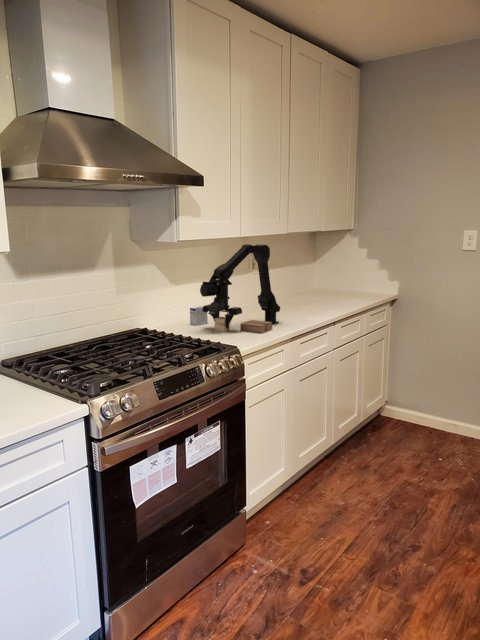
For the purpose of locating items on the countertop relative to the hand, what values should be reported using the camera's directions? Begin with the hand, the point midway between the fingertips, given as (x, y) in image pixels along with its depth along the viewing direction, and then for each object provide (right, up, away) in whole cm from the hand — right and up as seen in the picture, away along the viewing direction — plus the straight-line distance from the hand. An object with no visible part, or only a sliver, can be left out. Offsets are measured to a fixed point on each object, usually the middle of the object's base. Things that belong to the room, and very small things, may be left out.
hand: (222, 327), depth 241 cm
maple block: (0, -1, 0) cm, 1 cm away
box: (-12, +1, +15) cm, 19 cm away
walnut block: (+16, -2, 0) cm, 16 cm away
